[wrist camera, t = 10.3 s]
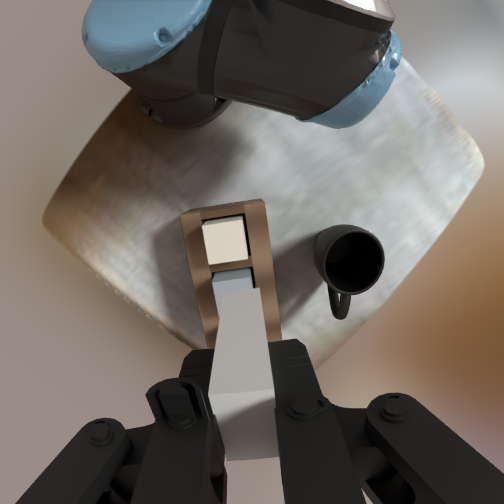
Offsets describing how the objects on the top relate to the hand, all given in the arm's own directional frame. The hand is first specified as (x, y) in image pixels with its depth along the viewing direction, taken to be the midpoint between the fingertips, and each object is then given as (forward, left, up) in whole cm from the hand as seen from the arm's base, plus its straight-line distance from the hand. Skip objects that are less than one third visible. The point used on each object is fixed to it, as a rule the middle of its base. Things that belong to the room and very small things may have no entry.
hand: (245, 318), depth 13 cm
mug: (+7, +12, -30) cm, 33 cm away
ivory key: (+1, -2, -27) cm, 28 cm away
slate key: (+7, -2, -27) cm, 28 cm away
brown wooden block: (+7, -2, -30) cm, 31 cm away
